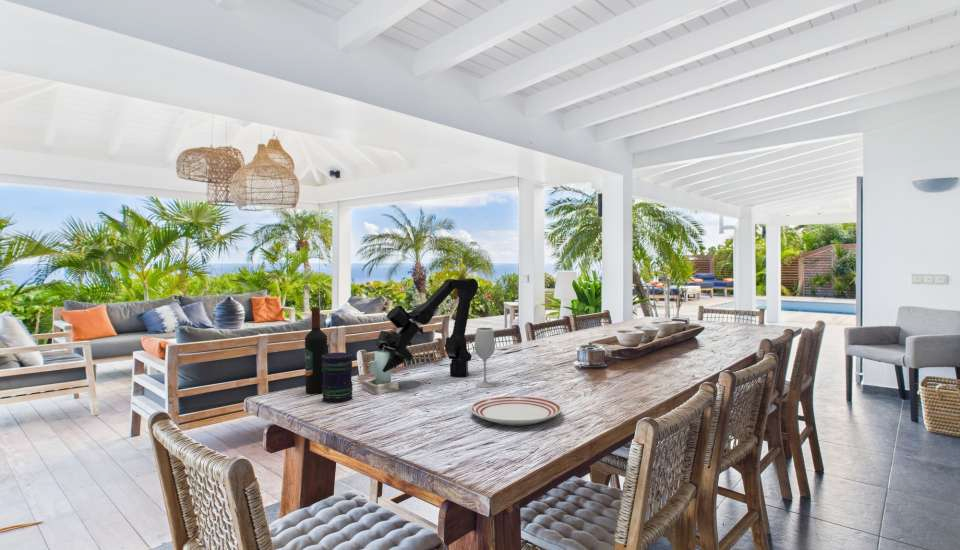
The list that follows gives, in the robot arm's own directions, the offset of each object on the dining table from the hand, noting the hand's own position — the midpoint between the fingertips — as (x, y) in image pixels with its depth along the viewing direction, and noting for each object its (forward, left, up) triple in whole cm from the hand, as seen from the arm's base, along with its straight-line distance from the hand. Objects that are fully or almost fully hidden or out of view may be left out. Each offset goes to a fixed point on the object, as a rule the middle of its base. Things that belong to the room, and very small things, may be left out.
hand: (379, 370), depth 184 cm
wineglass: (-36, -14, -7) cm, 39 cm away
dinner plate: (-52, +21, -8) cm, 56 cm away
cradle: (0, 0, -7) cm, 7 cm away
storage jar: (+9, +14, -7) cm, 18 cm away
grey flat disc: (-7, -9, -7) cm, 13 cm away
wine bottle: (+21, +6, -7) cm, 23 cm away
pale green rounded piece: (0, 0, -7) cm, 7 cm away
